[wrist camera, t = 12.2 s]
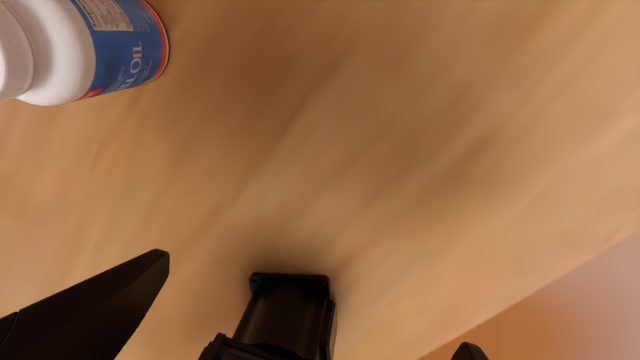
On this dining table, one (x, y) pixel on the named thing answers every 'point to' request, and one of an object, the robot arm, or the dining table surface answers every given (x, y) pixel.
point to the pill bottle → (77, 48)
